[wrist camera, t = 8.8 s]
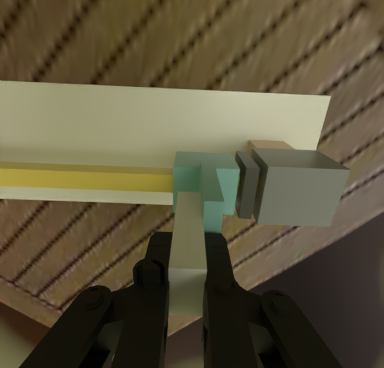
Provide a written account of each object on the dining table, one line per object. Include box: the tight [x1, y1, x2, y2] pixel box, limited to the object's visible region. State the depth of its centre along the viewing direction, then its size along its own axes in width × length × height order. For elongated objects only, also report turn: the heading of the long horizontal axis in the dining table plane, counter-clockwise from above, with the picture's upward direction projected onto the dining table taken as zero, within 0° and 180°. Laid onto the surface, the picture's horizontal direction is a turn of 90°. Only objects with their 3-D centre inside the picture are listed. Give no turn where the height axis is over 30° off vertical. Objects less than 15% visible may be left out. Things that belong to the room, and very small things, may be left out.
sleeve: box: [173, 151, 240, 233], centre depth 17 cm, size 5×5×10 cm
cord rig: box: [0, 80, 351, 227], centre depth 22 cm, size 14×42×12 cm, turn 87°
